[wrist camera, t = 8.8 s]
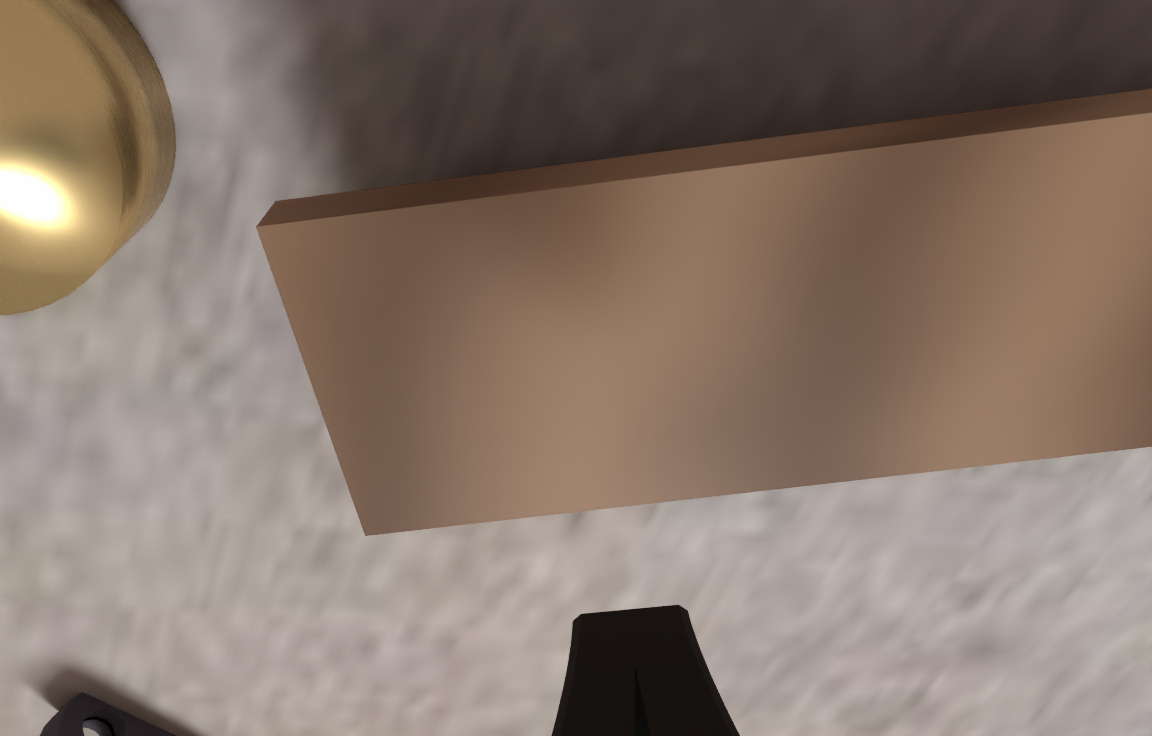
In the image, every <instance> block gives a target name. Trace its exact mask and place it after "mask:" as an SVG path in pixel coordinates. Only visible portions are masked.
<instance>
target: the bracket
mask: <svg viewBox="0 0 1152 736" xmlns="http://www.w3.org/2000/svg"><path fill="white" fill-rule="evenodd" d="M90 717H101V718H103V719H106V720H107V721H108V722H110V724H111V725H112V726H113V728H114V732H115V736H175V735H173V734H171V733H169V732H167V731H164V730H162V729H160V728H158V727H156V726H154V725H152V724H149V723H147V722H145V721H143V720H141V719H139V718H137V717H134V716H132V715H130V714H128V713H126V712H124V711H121V710H119V709H117V708H115V707H113V706H111V705H109V704H106V703H104V702H102V701H100V700H98V699H96V698H94V697H91V696H89V695H87V694H85V693H81V694H79V695H78V696H76V697H75V698H73V699H72V700H71V701H70V702H69V703H68V704H67V705H65V706H64V707H63V708H62V709H61V710H60V711H59V712H58V713H57V714H56V715H54V716H53V717H52V718H51V720H50V721H49V722H48V723H47V724H46V725H45V726H44V728H43V730H42V732H41V735H40V736H84V733H83V727H84V728H89V729H92V730H94V731H95V732H97V733H98V734H99V736H112V735H111V731H110V729H109V728H108V726H107V725H106V724H104V723H103V722H101V721H99V720H92V719H90V720H86V721H84V720H85V719H87V718H90Z"/></svg>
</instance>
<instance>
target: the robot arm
mask: <svg viewBox="0 0 1152 736" xmlns="http://www.w3.org/2000/svg"><path fill="white" fill-rule="evenodd" d="M552 736H740V735H739V733H738V731H737V729H736V727H735V725H734V723H733V721H732V719H731V717H730V715H729V713H728V711H727V709H726V707H725V705H724V703H723V701H722V698H721V696H720V694H719V692H718V690H717V688H716V685H715V683H714V681H713V679H712V677H711V674H710V672H709V670H708V667H707V665H706V662H705V660H704V658H703V655H702V652H701V650H700V647H699V645H698V642H697V639H696V636H695V633H694V630H693V628H692V624H691V621H690V617H689V614H688V611H687V610H686V609H684V608H683V607H681V606H680V605H672V606H661V607H650V608H640V609H629V610H619V611H608V612H597V613H587V614H581V615H579V616H578V617H577V618H576V619H575V620H574V621H573V627H572V640H571V647H570V654H569V661H568V666H567V672H566V677H565V682H564V687H563V692H562V696H561V700H560V704H559V709H558V713H557V717H556V721H555V725H554V729H553V732H552Z"/></svg>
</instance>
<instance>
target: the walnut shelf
mask: <svg viewBox="0 0 1152 736" xmlns="http://www.w3.org/2000/svg"><path fill="white" fill-rule="evenodd" d="M256 228H257V231H258V234H259V236H260V239H261V242H262V245H263V248H264V251H265V253H266V256H267V259H268V262H269V265H270V267H271V270H272V273H273V276H274V279H275V282H276V284H277V287H278V290H279V293H280V296H281V299H282V301H283V304H284V307H285V310H286V313H287V316H288V318H289V321H290V324H291V327H292V330H293V333H294V335H295V338H296V341H297V344H298V347H299V350H300V352H301V355H302V358H303V361H304V364H305V366H306V369H307V372H308V375H309V378H310V381H311V383H312V386H313V389H314V392H315V395H316V398H317V400H318V403H319V406H320V409H321V412H322V415H323V417H324V420H325V423H326V426H327V429H328V432H329V434H330V437H331V440H332V443H333V446H334V449H335V451H336V454H337V457H338V460H339V463H340V466H341V468H342V471H343V474H344V477H345V480H346V482H347V485H348V488H349V491H350V494H351V497H352V499H353V502H354V505H355V508H356V511H357V514H358V516H359V519H360V522H361V525H362V528H363V531H364V533H365V536H368V535H377V534H386V533H395V532H403V531H412V530H421V529H430V528H439V527H447V526H456V525H465V524H474V523H483V522H492V521H500V520H509V519H518V518H527V517H536V516H544V515H553V514H562V513H571V512H580V511H588V510H597V509H606V508H615V507H624V506H632V505H641V504H650V503H659V502H668V501H676V500H685V499H694V498H703V497H712V496H721V495H729V494H738V493H747V492H756V491H765V490H773V489H782V488H791V487H800V486H809V485H817V484H826V483H835V482H844V481H853V480H861V479H870V478H879V477H888V476H897V475H905V474H914V473H923V472H932V471H941V470H950V469H958V468H967V467H976V466H985V465H994V464H1002V463H1011V462H1020V461H1029V460H1038V459H1046V458H1055V457H1064V456H1073V455H1082V454H1090V453H1099V452H1108V451H1117V450H1126V449H1134V448H1143V447H1152V89H1144V90H1136V91H1128V92H1121V93H1113V94H1105V95H1097V96H1089V97H1082V98H1074V99H1066V100H1058V101H1051V102H1043V103H1035V104H1027V105H1020V106H1012V107H1004V108H996V109H988V110H981V111H973V112H965V113H957V114H950V115H942V116H934V117H926V118H918V119H911V120H903V121H895V122H887V123H880V124H872V125H864V126H856V127H849V128H841V129H833V130H825V131H817V132H810V133H802V134H794V135H786V136H779V137H771V138H763V139H755V140H747V141H740V142H732V143H724V144H716V145H709V146H701V147H693V148H685V149H678V150H670V151H662V152H654V153H646V154H639V155H631V156H623V157H615V158H608V159H600V160H592V161H584V162H576V163H569V164H561V165H553V166H545V167H538V168H530V169H522V170H514V171H507V172H499V173H491V174H483V175H475V176H468V177H460V178H452V179H444V180H437V181H429V182H421V183H413V184H405V185H398V186H390V187H382V188H374V189H367V190H359V191H351V192H343V193H336V194H328V195H320V196H312V197H304V198H297V199H289V200H281V201H275V203H274V204H273V205H272V207H271V208H270V209H269V211H268V212H267V213H266V215H265V216H264V217H263V219H262V220H261V221H260V222H259V224H258V225H257V226H256Z"/></svg>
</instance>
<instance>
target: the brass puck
mask: <svg viewBox="0 0 1152 736" xmlns="http://www.w3.org/2000/svg"><path fill="white" fill-rule="evenodd" d="M175 152H176V139H175V124H174V119H173V113H172V108H171V103H170V100H169V97H168V94H167V90H166V87H165V84H164V81H163V79H162V76H161V74H160V72H159V70H158V68H157V65H156V63H155V61H154V59H153V57H152V55H151V53H150V52H149V50H148V48H147V46H146V45H145V43H144V41H143V40H142V38H141V36H140V35H139V33H138V32H137V30H136V29H135V28H134V26H133V25H132V24H131V22H130V21H129V20H128V18H127V17H126V15H125V14H124V13H123V12H122V10H121V9H120V8H119V7H118V6H117V5H116V4H115V3H114V1H113V0H0V316H1V315H12V314H17V313H22V312H27V311H32V310H35V309H38V308H41V307H44V306H46V305H49V304H52V303H54V302H56V301H57V300H59V299H61V298H63V297H65V296H67V295H69V294H70V293H71V292H73V291H74V290H75V289H77V288H78V287H79V286H81V285H82V284H83V283H85V282H86V281H87V280H88V279H89V278H90V277H91V276H92V275H93V274H94V273H95V272H96V271H97V270H98V269H99V268H100V267H101V266H102V265H103V264H105V263H106V262H107V261H108V260H109V259H110V258H111V257H112V256H113V255H114V254H115V253H116V252H117V251H118V250H119V249H120V248H121V247H122V246H124V245H125V244H126V243H127V242H128V241H129V240H130V239H131V238H132V237H133V236H134V235H135V234H136V233H137V232H138V231H139V230H140V229H141V228H142V227H143V226H144V225H145V224H146V223H147V222H148V221H149V220H150V219H151V218H152V217H153V215H154V214H155V212H156V210H157V209H158V207H159V206H160V204H161V203H162V201H163V199H164V197H165V194H166V192H167V190H168V187H169V185H170V181H171V177H172V173H173V169H174V162H175Z"/></svg>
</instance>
